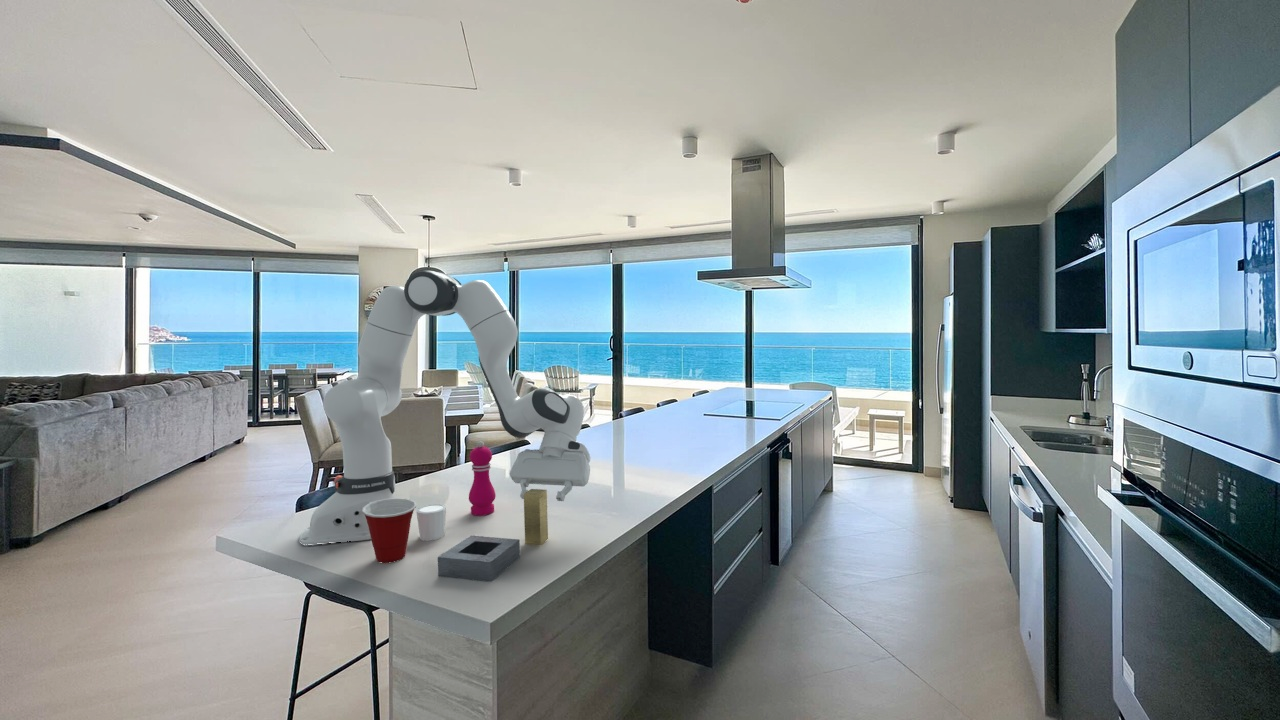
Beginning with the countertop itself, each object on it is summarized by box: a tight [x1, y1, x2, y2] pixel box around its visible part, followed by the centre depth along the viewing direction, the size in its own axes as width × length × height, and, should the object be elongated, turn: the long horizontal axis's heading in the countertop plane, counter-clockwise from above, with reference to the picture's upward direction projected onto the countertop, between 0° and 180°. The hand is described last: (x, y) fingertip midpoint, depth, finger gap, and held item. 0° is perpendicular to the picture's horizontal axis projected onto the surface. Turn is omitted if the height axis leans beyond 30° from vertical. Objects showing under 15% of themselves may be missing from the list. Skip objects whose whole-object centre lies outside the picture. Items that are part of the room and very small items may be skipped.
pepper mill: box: [468, 440, 497, 517], centre depth 146 cm, size 7×7×20 cm
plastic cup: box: [362, 497, 417, 564], centre depth 115 cm, size 11×11×12 cm
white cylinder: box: [415, 503, 447, 542], centre depth 128 cm, size 7×7×7 cm
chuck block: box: [437, 535, 521, 583], centre depth 110 cm, size 12×12×4 cm
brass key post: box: [523, 488, 549, 546], centre depth 123 cm, size 4×4×12 cm
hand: (541, 499), depth 126 cm, fingers open, 8 cm apart
